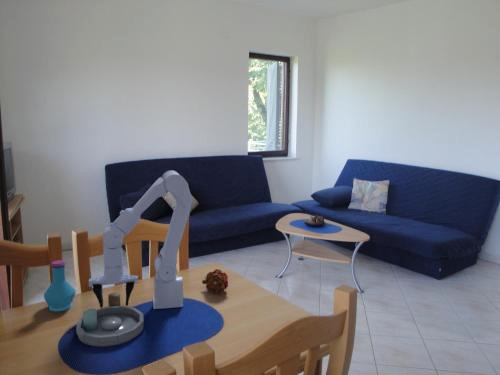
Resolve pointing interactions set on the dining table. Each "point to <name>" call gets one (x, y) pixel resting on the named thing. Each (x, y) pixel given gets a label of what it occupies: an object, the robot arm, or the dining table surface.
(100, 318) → the tray
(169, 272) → the robot arm
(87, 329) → the bead teal
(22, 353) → the dining table surface
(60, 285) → the perfume bottle
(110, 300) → the bead walnut
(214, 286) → the brown pine cone
